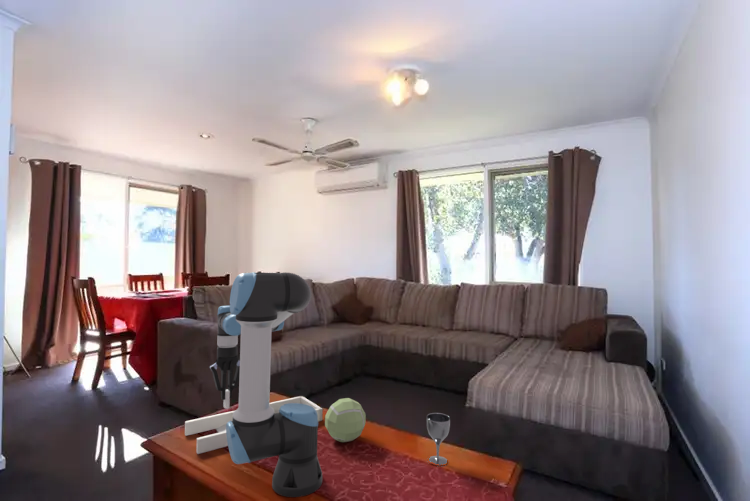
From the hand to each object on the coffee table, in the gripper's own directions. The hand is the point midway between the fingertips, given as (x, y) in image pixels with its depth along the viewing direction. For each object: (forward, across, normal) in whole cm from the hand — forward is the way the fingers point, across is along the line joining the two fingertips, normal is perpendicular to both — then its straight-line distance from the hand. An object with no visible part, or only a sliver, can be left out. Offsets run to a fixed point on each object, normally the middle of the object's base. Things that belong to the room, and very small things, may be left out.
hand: (226, 407), depth 154 cm
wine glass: (+13, -53, +60) cm, 82 cm away
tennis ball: (+12, -36, +29) cm, 47 cm away
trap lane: (+13, -13, -1) cm, 18 cm away
